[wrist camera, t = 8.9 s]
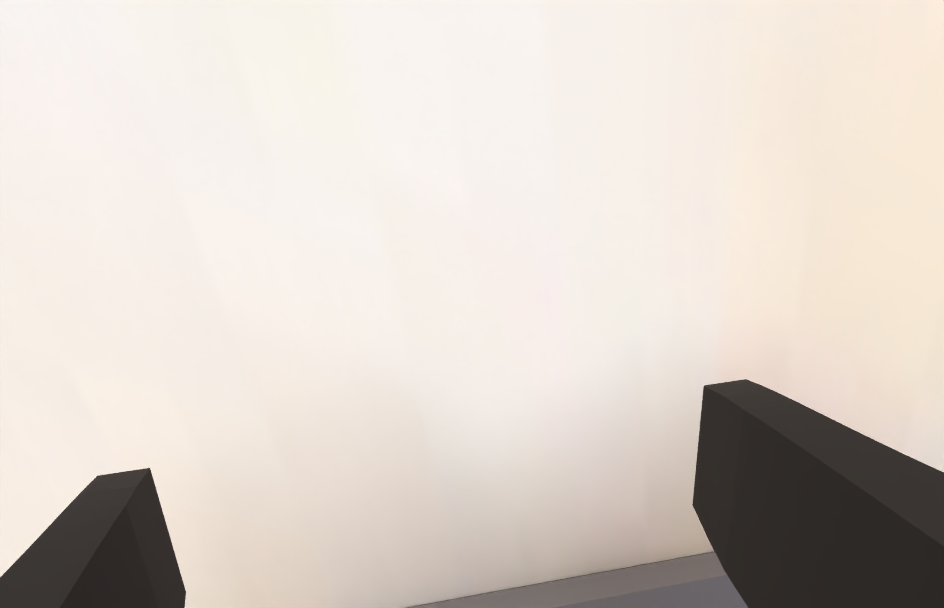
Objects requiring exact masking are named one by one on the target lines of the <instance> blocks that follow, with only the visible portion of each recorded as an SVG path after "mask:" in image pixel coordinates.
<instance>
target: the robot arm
mask: <svg viewBox="0 0 944 608" xmlns="http://www.w3.org/2000/svg"><path fill="white" fill-rule="evenodd" d="M693 507H694V509H695V511H696V513H697V515H698V518H699V520H700V522H701V524H702V526H703V528H704V530H705V533H706V535H707V537H708V539H709V541H710V543H711V545H712V547H713V549H714V551H715V553H716V555H717V557H718V559H719V561H720V563H721V565H722V567H723V569H724V571H725V572H726V574H727V576H728V577H729V579H730V580H731V582H732V584H733V585H734V587H735V588H736V590H737V591H738V593H739V594H740V596H741V597H742V599H743V601H744V602H745V604H746V605H747V607H748V608H944V472H941V471H939V470H937V469H935V468H933V467H930V466H928V465H926V464H924V463H922V462H919V461H917V460H915V459H913V458H911V457H909V456H906V455H904V454H902V453H900V452H898V451H896V450H894V449H892V448H890V447H887V446H885V445H883V444H881V443H879V442H877V441H875V440H873V439H871V438H869V437H867V436H865V435H863V434H861V433H859V432H857V431H855V430H853V429H851V428H848V427H846V426H844V425H842V424H840V423H838V422H836V421H834V420H832V419H830V418H828V417H826V416H824V415H822V414H820V413H818V412H816V411H814V410H812V409H810V408H808V407H806V406H804V405H802V404H800V403H798V402H796V401H794V400H792V399H790V398H787V397H785V396H783V395H781V394H779V393H777V392H775V391H773V390H770V389H768V388H766V387H764V386H761V385H759V384H756V383H754V382H751V381H749V380H746V379H745V380H738V381H731V382H725V383H718V384H711V385H705V386H704V389H703V400H702V411H701V421H700V432H699V443H698V453H697V464H696V475H695V485H694V496H693ZM185 595H186V591H185V588H184V584H183V581H182V577H181V574H180V570H179V567H178V563H177V560H176V557H175V553H174V550H173V546H172V543H171V539H170V536H169V532H168V529H167V525H166V522H165V519H164V515H163V512H162V508H161V505H160V501H159V498H158V494H157V491H156V487H155V484H154V481H153V477H152V474H151V470H150V468H147V469H140V470H133V471H126V472H120V473H113V474H106V475H100V476H97V477H96V478H95V479H94V480H93V481H92V482H91V483H90V484H89V485H88V486H87V487H86V488H85V489H84V490H83V491H82V492H81V493H80V494H79V495H78V496H77V497H76V498H75V499H74V500H73V501H72V502H71V503H70V505H69V506H68V507H67V508H66V509H65V510H64V511H63V512H62V513H61V514H60V515H59V516H58V517H57V518H56V519H55V521H54V522H53V523H52V524H51V525H50V526H49V527H48V528H47V529H46V530H45V531H44V532H43V533H42V534H41V536H40V537H39V538H38V539H37V540H36V541H35V542H34V543H33V544H32V545H31V546H30V547H29V548H28V549H27V550H26V551H25V552H24V553H23V555H22V556H21V557H20V558H19V559H18V560H17V561H16V562H15V563H14V564H13V565H12V566H11V567H10V568H9V569H8V570H7V571H6V572H5V573H4V574H3V575H2V576H1V577H0V608H184V607H185Z"/></svg>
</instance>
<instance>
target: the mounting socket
mask: <svg viewBox="0 0 944 608" xmlns="http://www.w3.org/2000/svg"><path fill="white" fill-rule="evenodd" d="M409 608H748V607H747V605H746V604H745V602H744V601H743V599H742V597H741V596H740V594H739V593H738V591H737V590H736V588H735V587H734V585H733V584H732V582H731V580H730V579H729V577H728V576H727V574H726V572H725V571H724V569H723V567H722V565H721V563H720V561H719V559H718V557H717V555H716V553H715V552H711V553H706V554H700V555H695V556H689V557H684V558H678V559H673V560H667V561H662V562H656V563H651V564H645V565H640V566H634V567H629V568H623V569H618V570H612V571H607V572H601V573H596V574H590V575H585V576H579V577H574V578H568V579H563V580H557V581H552V582H546V583H541V584H535V585H530V586H524V587H519V588H513V589H508V590H502V591H497V592H491V593H486V594H480V595H475V596H469V597H464V598H458V599H453V600H447V601H442V602H436V603H431V604H425V605H420V606H414V607H409Z"/></svg>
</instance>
